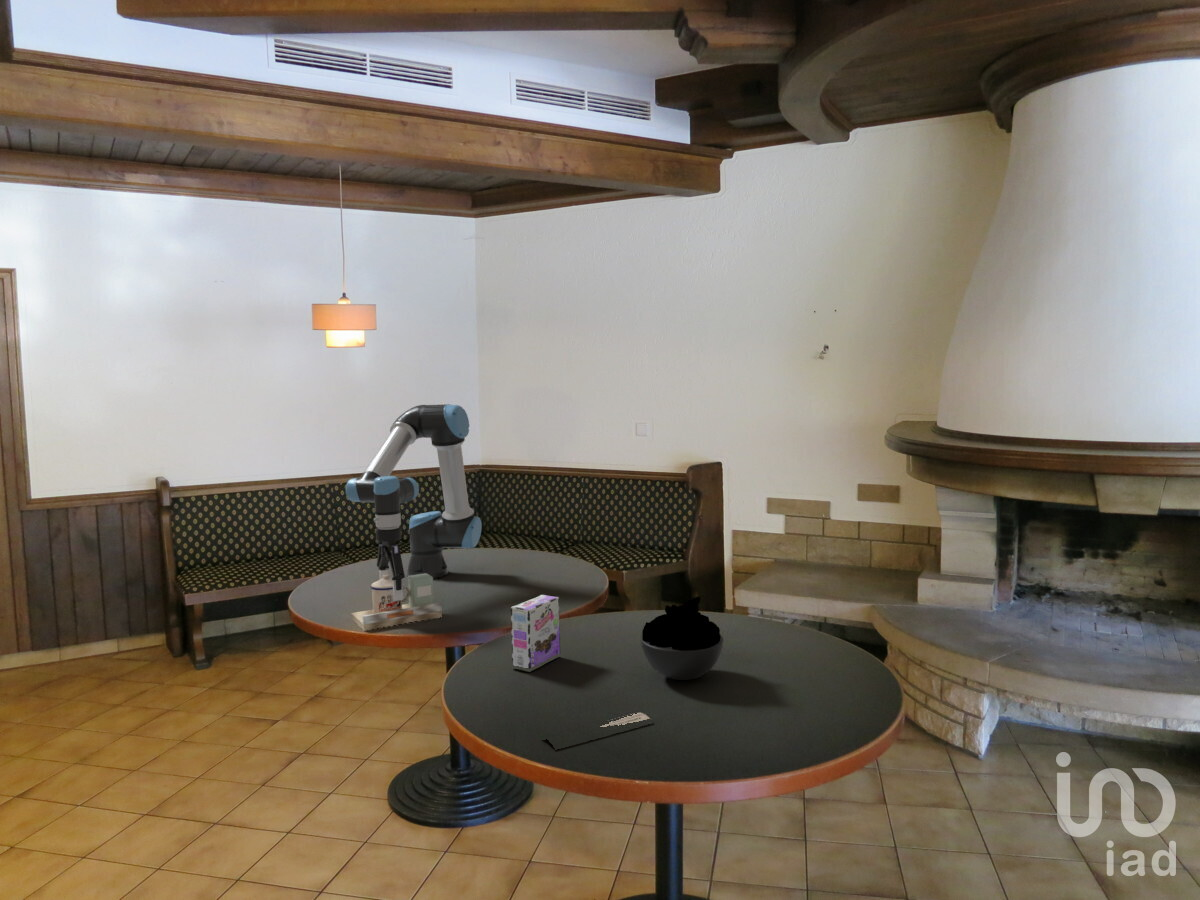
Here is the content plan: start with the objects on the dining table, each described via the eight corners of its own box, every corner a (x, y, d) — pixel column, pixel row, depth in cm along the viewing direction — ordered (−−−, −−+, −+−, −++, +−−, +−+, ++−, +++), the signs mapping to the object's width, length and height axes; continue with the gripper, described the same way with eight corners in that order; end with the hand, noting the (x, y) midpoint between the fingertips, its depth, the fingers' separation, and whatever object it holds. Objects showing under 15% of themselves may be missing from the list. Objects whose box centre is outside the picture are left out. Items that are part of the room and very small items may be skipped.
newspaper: (554, 754, 168) (554, 746, 168) (538, 741, 174) (538, 733, 174) (653, 727, 180) (652, 719, 180) (635, 715, 186) (634, 708, 186)
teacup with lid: (377, 618, 253) (375, 580, 252) (368, 611, 261) (366, 574, 260) (416, 611, 260) (414, 574, 259) (405, 604, 267) (404, 568, 266)
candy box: (530, 674, 211) (528, 609, 209) (511, 669, 214) (509, 606, 212) (561, 657, 222) (559, 596, 221) (543, 653, 226) (541, 593, 224)
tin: (427, 604, 268) (426, 573, 267) (434, 608, 263) (432, 577, 262) (409, 607, 265) (407, 575, 264) (415, 611, 260) (414, 579, 259)
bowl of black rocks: (665, 699, 193) (664, 618, 191) (627, 670, 211) (626, 597, 210) (739, 684, 201) (739, 607, 199) (697, 658, 219) (696, 587, 217)
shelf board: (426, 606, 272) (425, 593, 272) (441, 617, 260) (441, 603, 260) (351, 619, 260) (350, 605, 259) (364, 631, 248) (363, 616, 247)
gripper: (364, 522, 266) (367, 588, 268) (388, 535, 245) (391, 606, 247) (388, 519, 270) (391, 584, 272) (413, 532, 249) (416, 602, 251)
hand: (391, 595), depth 260 cm, fingers open, 13 cm apart
